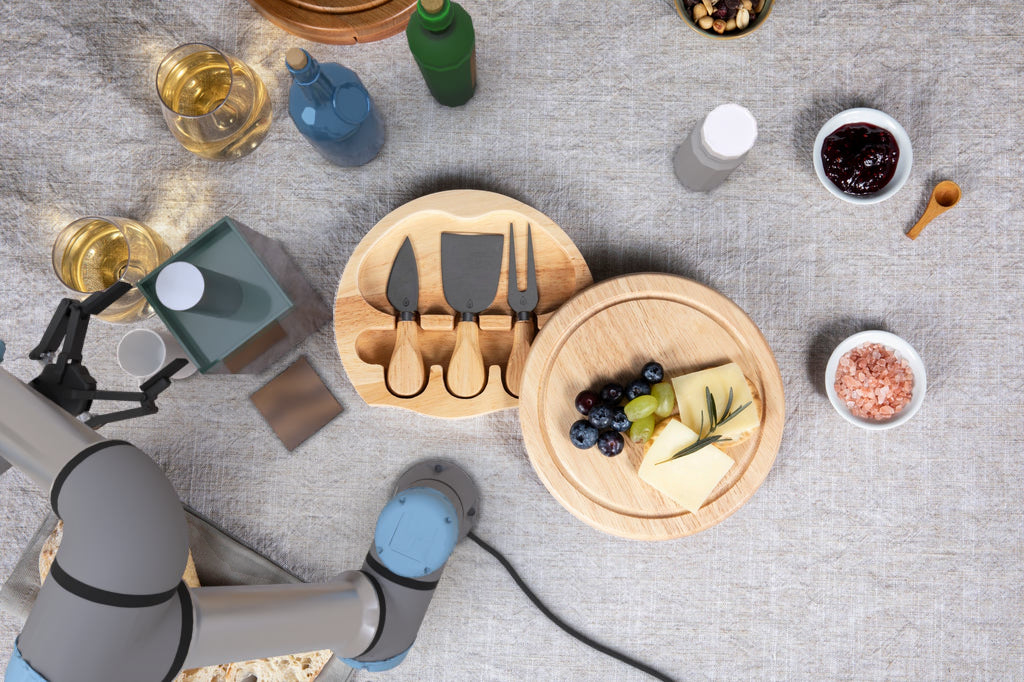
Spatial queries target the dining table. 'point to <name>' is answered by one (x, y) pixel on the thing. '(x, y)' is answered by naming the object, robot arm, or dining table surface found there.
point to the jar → (715, 147)
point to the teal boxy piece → (242, 302)
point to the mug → (150, 354)
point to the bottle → (444, 50)
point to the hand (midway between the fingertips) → (154, 321)
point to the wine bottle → (333, 110)
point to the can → (198, 290)
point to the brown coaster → (296, 403)
